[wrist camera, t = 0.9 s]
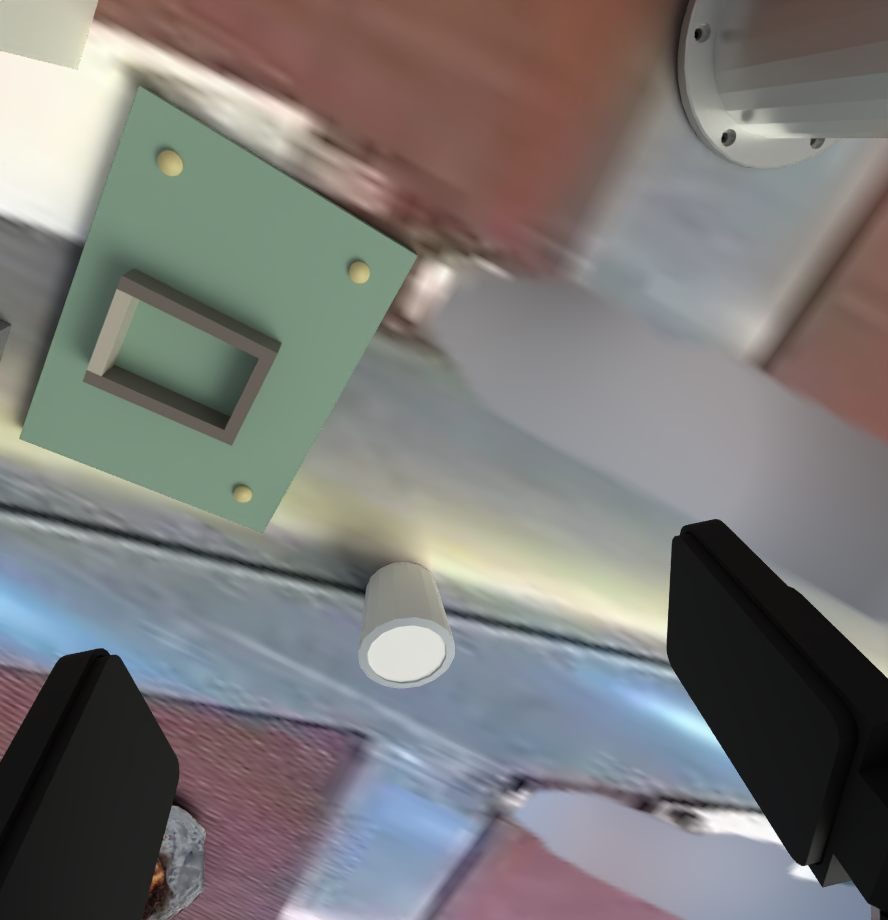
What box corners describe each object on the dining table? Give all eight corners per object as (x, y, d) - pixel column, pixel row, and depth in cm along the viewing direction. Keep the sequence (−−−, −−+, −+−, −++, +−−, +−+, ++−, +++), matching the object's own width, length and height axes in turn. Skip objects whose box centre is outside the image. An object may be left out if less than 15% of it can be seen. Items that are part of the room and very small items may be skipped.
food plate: (206, 915, 66) (198, 952, 63) (-29, 920, 62) (-50, 961, 59) (213, 764, 56) (204, 800, 53) (-70, 757, 51) (-98, 796, 48)
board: (145, 87, 30) (136, 85, 29) (416, 253, 36) (418, 256, 35) (27, 431, 38) (16, 440, 37) (264, 525, 43) (262, 535, 42)
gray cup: (342, 604, 48) (340, 672, 42) (385, 542, 45) (389, 605, 39) (415, 632, 50) (422, 700, 44) (459, 574, 48) (474, 638, 42)
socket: (134, 268, 33) (121, 275, 32) (281, 343, 36) (278, 353, 34) (96, 369, 36) (82, 381, 34) (237, 432, 39) (231, 445, 37)
